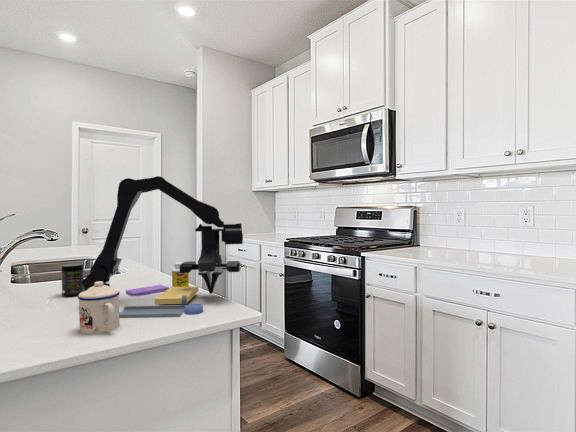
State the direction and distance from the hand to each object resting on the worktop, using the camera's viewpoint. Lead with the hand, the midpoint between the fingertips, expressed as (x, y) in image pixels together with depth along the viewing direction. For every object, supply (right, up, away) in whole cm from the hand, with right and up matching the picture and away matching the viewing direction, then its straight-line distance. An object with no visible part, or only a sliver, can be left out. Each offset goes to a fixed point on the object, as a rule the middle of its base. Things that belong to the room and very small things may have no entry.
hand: (211, 293), depth 120 cm
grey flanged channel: (-13, -2, -17) cm, 21 cm away
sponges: (-24, -2, +10) cm, 27 cm away
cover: (-9, 0, -5) cm, 10 cm away
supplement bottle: (-13, -2, +10) cm, 16 cm away
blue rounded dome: (-1, -2, -17) cm, 17 cm away
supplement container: (-49, -2, +7) cm, 49 cm away
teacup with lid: (-20, -3, -30) cm, 36 cm away
